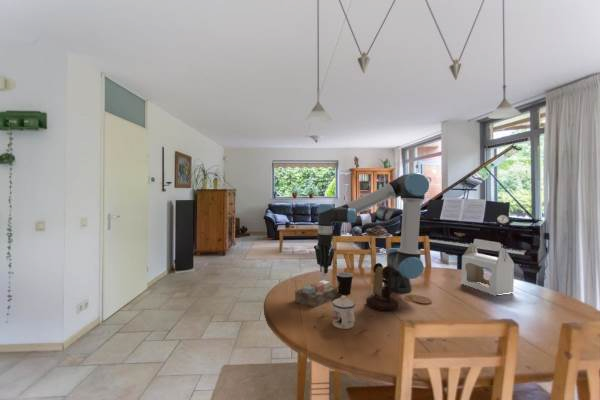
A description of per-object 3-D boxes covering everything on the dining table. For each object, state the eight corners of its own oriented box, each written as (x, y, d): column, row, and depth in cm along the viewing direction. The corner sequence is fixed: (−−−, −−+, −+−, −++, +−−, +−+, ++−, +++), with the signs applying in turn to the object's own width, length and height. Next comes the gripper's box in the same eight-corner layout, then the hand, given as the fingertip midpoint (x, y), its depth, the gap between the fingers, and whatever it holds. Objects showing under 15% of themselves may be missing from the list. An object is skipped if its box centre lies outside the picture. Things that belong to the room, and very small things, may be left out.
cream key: (323, 289, 153) (323, 280, 153) (329, 291, 150) (330, 282, 150) (318, 291, 150) (318, 282, 150) (324, 293, 147) (324, 283, 147)
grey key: (308, 295, 144) (308, 285, 144) (315, 297, 141) (315, 287, 141) (302, 297, 141) (302, 287, 141) (309, 299, 138) (309, 289, 138)
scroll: (360, 302, 141) (360, 262, 141) (384, 299, 147) (384, 260, 147) (379, 314, 128) (380, 269, 128) (405, 309, 134) (406, 266, 133)
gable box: (513, 294, 158) (515, 243, 157) (496, 296, 153) (497, 244, 153) (477, 282, 179) (478, 237, 178) (460, 284, 174) (461, 238, 174)
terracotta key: (316, 292, 149) (316, 282, 148) (322, 294, 146) (323, 284, 145) (310, 294, 145) (310, 284, 145) (317, 296, 142) (317, 286, 142)
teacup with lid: (327, 321, 120) (328, 293, 120) (346, 318, 123) (346, 291, 123) (343, 334, 109) (344, 304, 109) (363, 330, 113) (363, 300, 112)
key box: (319, 292, 156) (319, 282, 156) (337, 297, 148) (337, 287, 148) (295, 301, 142) (295, 290, 142) (313, 307, 134) (313, 296, 134)
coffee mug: (352, 296, 150) (352, 277, 150) (335, 295, 152) (335, 276, 152) (352, 289, 162) (353, 271, 161) (337, 288, 163) (337, 270, 163)
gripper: (310, 232, 151) (309, 277, 151) (330, 235, 142) (329, 283, 143) (319, 231, 157) (318, 275, 157) (339, 234, 148) (338, 280, 148)
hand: (323, 278), depth 150 cm, fingers closed
